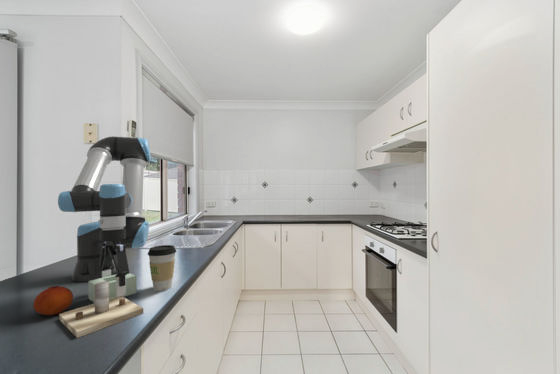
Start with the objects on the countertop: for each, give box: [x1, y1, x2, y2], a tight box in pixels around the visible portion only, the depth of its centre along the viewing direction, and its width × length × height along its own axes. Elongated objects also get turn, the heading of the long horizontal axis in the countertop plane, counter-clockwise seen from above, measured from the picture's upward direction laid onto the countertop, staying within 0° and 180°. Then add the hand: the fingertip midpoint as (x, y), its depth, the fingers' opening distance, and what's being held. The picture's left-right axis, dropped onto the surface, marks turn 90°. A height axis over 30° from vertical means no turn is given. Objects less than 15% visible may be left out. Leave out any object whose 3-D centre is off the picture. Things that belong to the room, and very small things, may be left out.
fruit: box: [33, 285, 74, 316], centre depth 79 cm, size 9×9×8 cm
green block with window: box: [88, 272, 138, 304], centre depth 91 cm, size 12×8×6 cm, turn 143°
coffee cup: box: [147, 244, 177, 292], centre depth 98 cm, size 10×10×15 cm
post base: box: [58, 281, 144, 339], centre depth 76 cm, size 16×16×10 cm
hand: (113, 292), depth 90 cm, fingers open, 11 cm apart
